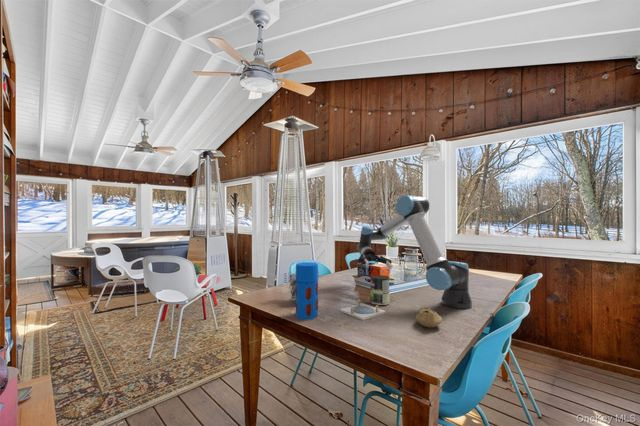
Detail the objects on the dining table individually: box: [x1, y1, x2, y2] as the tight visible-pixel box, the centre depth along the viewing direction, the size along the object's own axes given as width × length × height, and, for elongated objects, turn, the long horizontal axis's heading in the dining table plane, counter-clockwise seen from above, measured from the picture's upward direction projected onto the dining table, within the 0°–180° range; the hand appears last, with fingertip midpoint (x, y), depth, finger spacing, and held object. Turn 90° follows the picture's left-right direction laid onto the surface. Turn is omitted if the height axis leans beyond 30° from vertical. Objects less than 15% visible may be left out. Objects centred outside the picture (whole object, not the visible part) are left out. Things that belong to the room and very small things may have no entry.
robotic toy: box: [287, 273, 296, 301], centre depth 164 cm, size 13×17×15 cm
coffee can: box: [370, 274, 390, 306], centre depth 162 cm, size 10×10×14 cm
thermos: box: [295, 261, 319, 320], centre depth 142 cm, size 11×11×25 cm
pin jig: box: [339, 299, 386, 321], centre depth 147 cm, size 16×16×4 cm
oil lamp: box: [415, 306, 443, 329], centre depth 131 cm, size 11×15×8 cm
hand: (379, 266), depth 166 cm, fingers open, 13 cm apart
